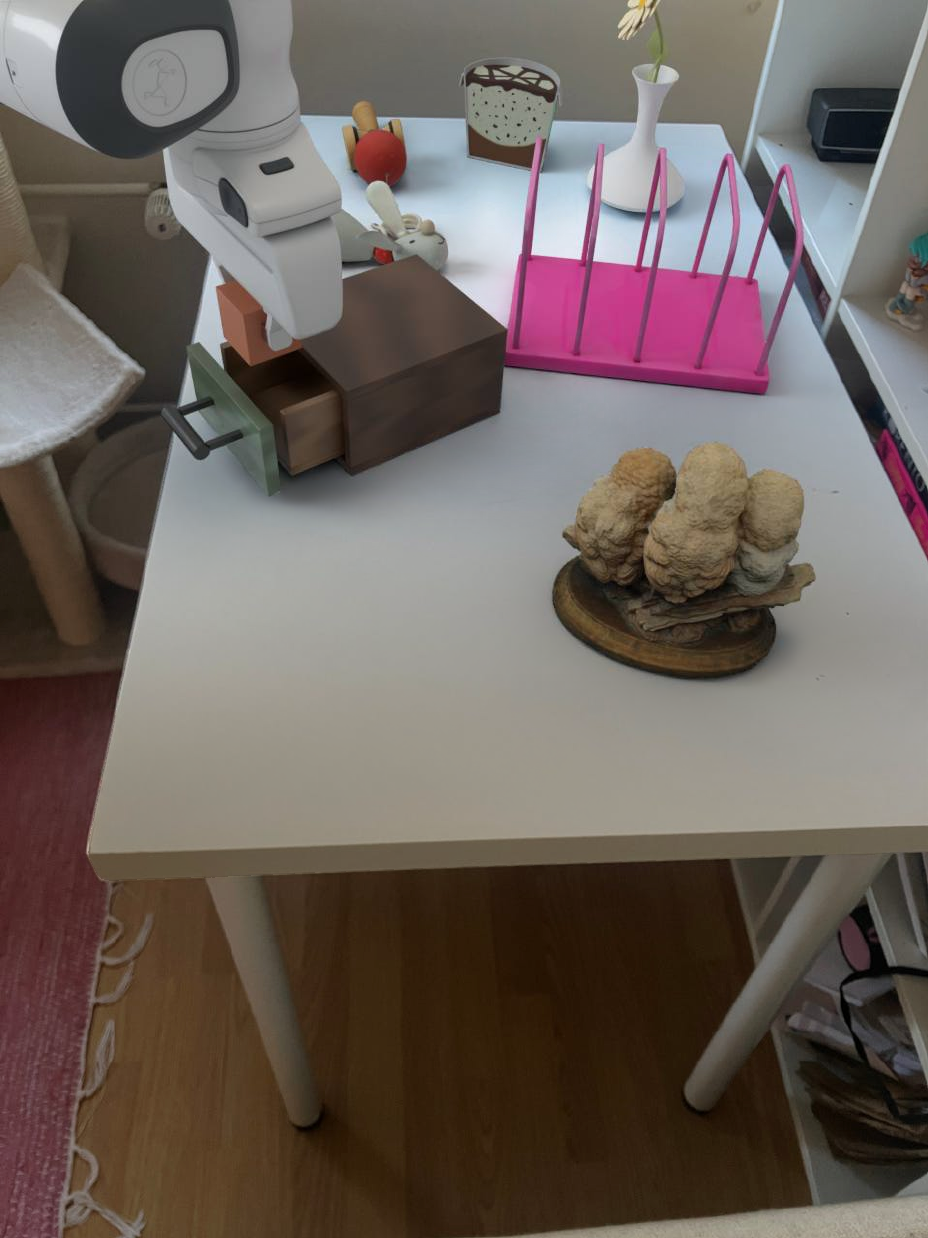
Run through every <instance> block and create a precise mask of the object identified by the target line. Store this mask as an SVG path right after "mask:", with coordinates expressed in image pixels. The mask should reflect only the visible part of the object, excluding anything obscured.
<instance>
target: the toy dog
mask: <svg viewBox="0 0 928 1238" xmlns="http://www.w3.org/2000/svg"><path fill="white" fill-rule="evenodd" d="M390 187H391V186H388V185H387V184H386V183H385V182H383V181H375V182H372V183H371V184H368V186H366V190H365V199H366V202H367V204H368V205H369V206H370V208H371V209H372V210H373V211H374V213H375V214H376V215H377V217H378V218H379V219H380V221H381V223H380V224H378V223H376V222H371V224H370V228H372V229H373V230H369V229H367V227H366V226H364V225H363V224H362V223H361V222H360V221H359V220H358V219H356V217H354V216H352V214H351V213H349V212H347V211H346V210H344V208H341V211H340V212H339V213H337V214H334V215H332V216H330V217H331V218H332V220H333V222H334V224H335V227H336V229H337V232H338V236H339V241H340V248H341V260H342V263H349V262H354V263H355V262H365V261H370V260H371V259H372V257H374V258H375V260H376V262H378V263H380V264H382V265H386V264H389V263H392V262H395V261H398V260H401V259H404V258H407V257H410V256H413V255H415V254H417V255H418V256H420V257H421V258H422V259H423V260H424V261H426V262H427V263H428V264H429V265H430V266H432V267H433V268H434V269H435V270H436V271H439V270H441V268H443V267H444V266H445V265H446V263H447V261H448V256H449V247H448V242H447V240H446V237H445V236H444V235H443V234H442V233H441V232H440V231H438V230H436V225H435V223H434V222H433V221H432V220H431V219H424V220H423V219H422V217H421V216H420V215H418V214H417V213H411V212H409V213H402V214H401V212H400V209H399V204H398V203H397V201H396V197H395V195H394V194H393V191H392V189H391V188H390ZM407 229H414V230H412V231H410V230H407Z"/></svg>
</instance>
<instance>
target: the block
mask: <svg viewBox="0 0 928 1238" xmlns="http://www.w3.org/2000/svg"><path fill="white" fill-rule="evenodd" d="M215 293H216V299H217V305H218V310H219V317H220V323H221V327H222V329H221V330H222V335H223V338H224V339H225V340H226V342H227V341H228V342H229V343H230V344H231V346H232V347H233V348H234V349H235V350H236V351H237V352H238V353H239V354H240V355H241V356H242V358H243V359H244V360H245V361H246V362H247V363H248V364H249V365H250V366H253V365H256V364H259V363H262V362H264V361H267V360H270V359H273V358H276V357H278V356H281V355H284V354H287V353H289V352H292V351H295V350H298V349H300V348H302V344H301V339H300V340H297V339H294V338H293V337H292V344H291V345H290V346H289V347H287V348H284V349H281V350H278V351H273V350H272V349H271V348H270V347H269V346H268V345H267V343H266V342H265V341H264V340H263V336H262V335H263V334H262V329H261V323H263V322H266V321H267V314H266V313H265V312H264V310H263V307H262V306H261V305H260V304H259V303H258V302H257V301H256V300H255V299H254V298H253V297H252V296H251V295H250V294H249V293H248V291H247V290H246V289H245V288H244V287H243V286H242V285H241V284H240V283H239V282H238V281H237V280H235V281H231V282H228V283H225V284H223V283H222V284H220V285H216V286H215Z"/></svg>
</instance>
